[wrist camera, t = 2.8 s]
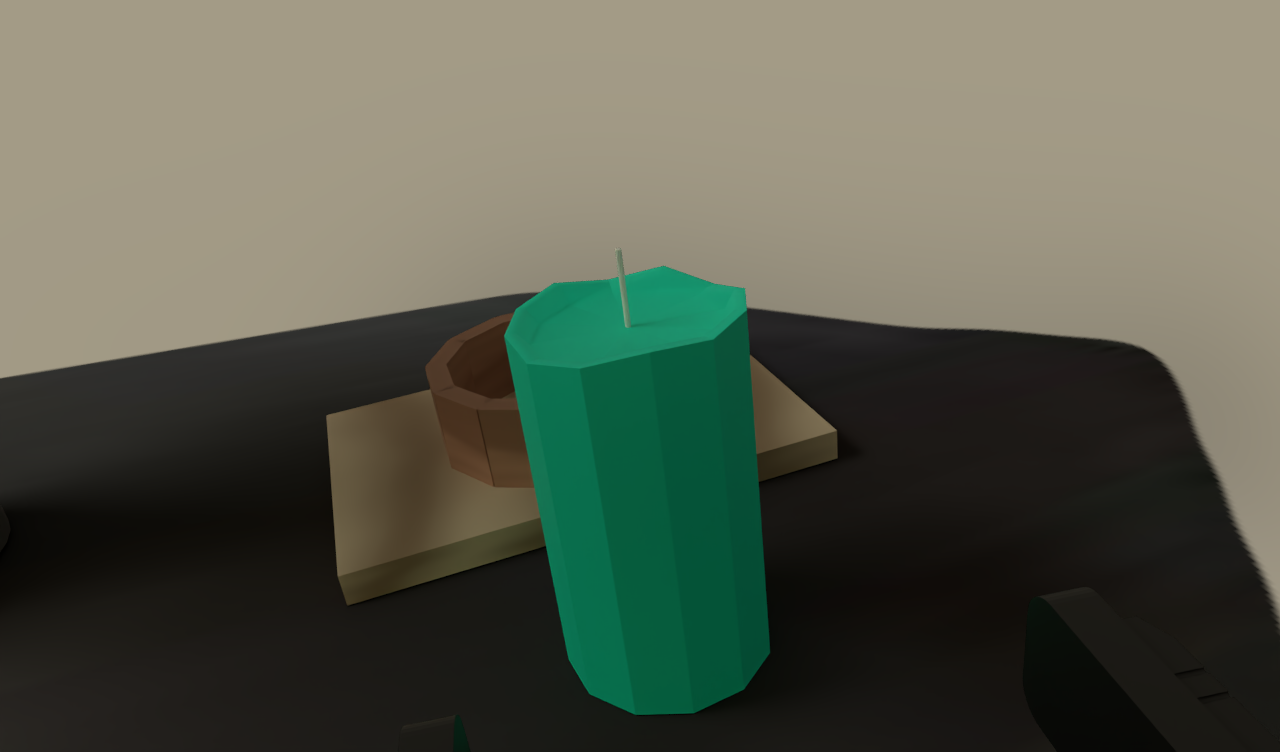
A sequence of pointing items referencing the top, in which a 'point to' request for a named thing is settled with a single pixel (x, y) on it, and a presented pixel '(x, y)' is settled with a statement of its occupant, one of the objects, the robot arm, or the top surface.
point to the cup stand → (481, 467)
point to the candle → (647, 483)
